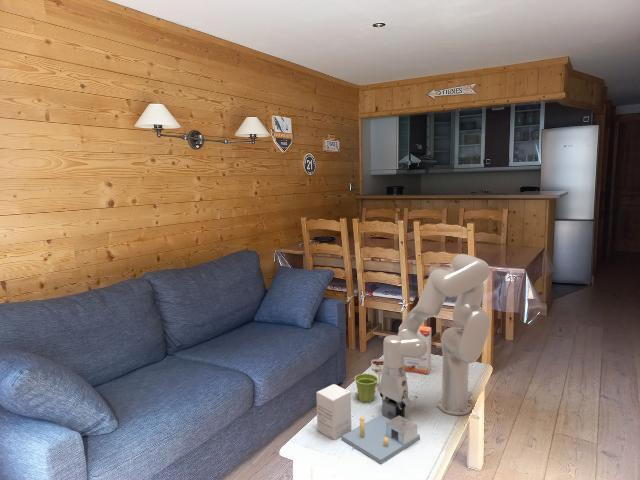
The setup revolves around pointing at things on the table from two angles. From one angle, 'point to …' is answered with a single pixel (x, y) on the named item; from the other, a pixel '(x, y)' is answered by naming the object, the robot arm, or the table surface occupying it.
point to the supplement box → (333, 411)
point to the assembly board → (375, 440)
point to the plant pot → (366, 386)
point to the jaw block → (390, 408)
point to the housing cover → (401, 429)
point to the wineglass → (377, 368)
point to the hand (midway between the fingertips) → (393, 413)
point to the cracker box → (423, 362)
